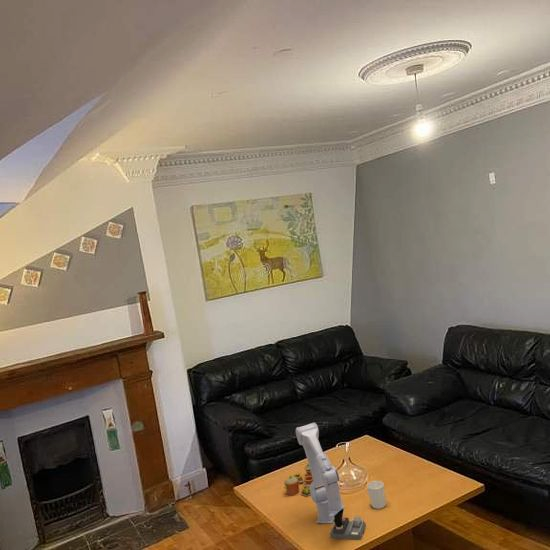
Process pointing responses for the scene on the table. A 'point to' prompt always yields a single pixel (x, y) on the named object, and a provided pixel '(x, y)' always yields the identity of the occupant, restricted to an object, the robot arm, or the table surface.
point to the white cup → (376, 494)
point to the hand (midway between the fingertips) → (339, 526)
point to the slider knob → (357, 521)
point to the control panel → (348, 531)
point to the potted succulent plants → (297, 479)
